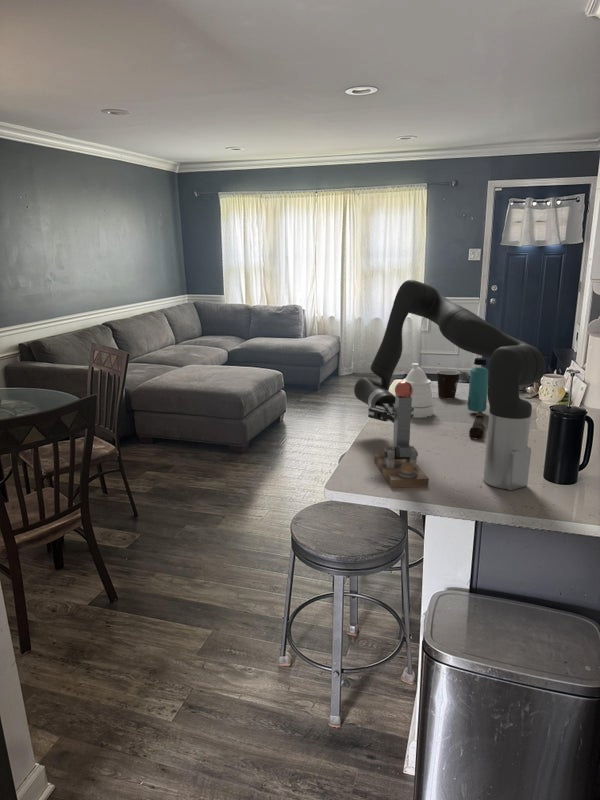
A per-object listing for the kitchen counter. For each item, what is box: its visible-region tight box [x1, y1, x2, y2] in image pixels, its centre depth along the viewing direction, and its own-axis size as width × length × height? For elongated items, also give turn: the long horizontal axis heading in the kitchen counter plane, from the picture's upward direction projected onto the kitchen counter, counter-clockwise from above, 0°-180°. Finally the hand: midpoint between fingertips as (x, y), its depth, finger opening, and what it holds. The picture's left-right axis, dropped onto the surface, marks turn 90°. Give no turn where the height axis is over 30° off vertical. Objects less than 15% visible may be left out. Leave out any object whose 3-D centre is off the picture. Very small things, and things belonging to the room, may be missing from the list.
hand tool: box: [468, 412, 485, 440], centre depth 172 cm, size 19×4×5 cm, turn 156°
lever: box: [392, 380, 413, 459], centre depth 133 cm, size 6×4×20 cm
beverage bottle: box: [467, 357, 488, 413], centre depth 190 cm, size 6×7×20 cm
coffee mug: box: [436, 369, 460, 399], centre depth 215 cm, size 12×9×10 cm
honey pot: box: [401, 362, 435, 418], centre depth 192 cm, size 13×13×18 cm
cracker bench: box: [373, 445, 430, 489], centre depth 136 cm, size 18×9×6 cm, turn 5°
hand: (399, 421), depth 136 cm, fingers closed
